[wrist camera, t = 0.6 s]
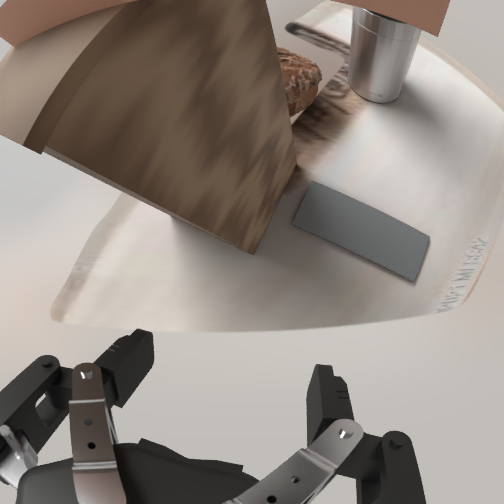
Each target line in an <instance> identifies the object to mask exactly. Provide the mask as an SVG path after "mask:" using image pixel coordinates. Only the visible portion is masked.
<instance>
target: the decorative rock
mask: <svg viewBox="0 0 504 504" xmlns="http://www.w3.org/2000/svg"><path fill="white" fill-rule="evenodd" d="M277 52H278V57H279V62H280V67H281V72H282V77H283V82H284V87H285V93H286V99H287V104H288V110H289V116H290V117H292V116H294V115H295V114H296V113H299V112H300V111H302V110H304V109H305V108H307V107H308V106H309V105H311V104H312V103H313V101H314V99H315V96H316V94H317V92H318V84H319V82H320V81H321V80H322V74H321V71H320V69H319V68H318V66H317V65H316V63H313V62H312V61H310V60H309V59H307V58H305V57H302V56H300V55H297V54H294V53H292V52H289V51H288V50H286V49H284V48H279V47H277Z"/></svg>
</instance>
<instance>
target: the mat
mask: <svg viewBox="0 0 504 504" xmlns="http://www.w3.org/2000/svg"><path fill="white" fill-rule="evenodd" d="M292 225H294V226H297V227H299V228H301V229H303V230H305V231H308V232H310V233H312V234H314V235H317V236H319V237H321V238H323V239H325V240H327V241H330V242H332V243H334V244H336V245H338V246H340V247H343V248H345V249H347V250H349V251H351V252H353V253H355V254H357V255H359V256H362V257H364V258H366V259H368V260H370V261H372V262H374V263H376V264H378V265H380V266H382V267H384V268H386V269H388V270H390V271H392V272H394V273H396V274H398V275H400V276H402V277H404V278H406V279H408V280H410V281H412V282H414V281H415V278H416V276H417V273H418V270H419V268H420V265H421V262H422V259H423V257H424V254H425V251H426V248H427V245H428V242H429V239H430V237H429V236H427V235H426V234H424V233H422V232H420V231H418V230H416V229H415V228H413V227H411V226H409V225H407V224H405V223H403V222H401V221H399V220H397V219H395V218H393V217H391V216H389V215H387V214H385V213H383V212H381V211H379V210H377V209H375V208H373V207H371V206H369V205H367V204H364V203H362V202H360V201H358V200H356V199H354V198H351V197H349V196H347V195H345V194H342V193H340V192H338V191H336V190H333V189H331V188H329V187H326V186H324V185H322V184H319V183H317V182H314V181H311V184H310V186H309V188H308V190H307V192H306V195H305V197H304V199H303V201H302V203H301V206H300V208H299V210H298V212H297V214H296V216H295V219H294V221H293V223H292Z"/></svg>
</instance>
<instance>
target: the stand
mask: <svg viewBox="0 0 504 504" xmlns="http://www.w3.org/2000/svg"><path fill="white" fill-rule="evenodd" d="M0 135H2V136H4V137H6V138H8V139H10V140H12V141H14V142H17V143H19V144H20V145H22V146H25V147H27V148H29V149H31V150H33V151H35V152H37V153H39V154H42V152H45V153H47V154H49V155H51V156H53V157H55V158H57V159H59V160H61V161H63V162H65V163H67V164H69V165H71V166H73V167H75V168H77V169H78V170H80V171H82V172H84V173H86V174H88V175H91V176H93V177H94V178H96V179H98V180H101V181H102V182H104V183H106V184H108V185H111V186H113V187H114V188H116V189H118V190H120V191H122V192H124V193H126V194H128V195H130V196H132V197H134V198H136V199H138V200H140V201H142V202H144V203H146V204H148V205H150V206H152V207H154V208H156V209H158V210H160V211H162V212H164V213H166V214H168V215H170V216H173V217H175V218H177V219H179V220H181V221H183V222H185V223H187V224H189V225H191V226H194V227H196V228H198V229H200V230H202V231H204V232H206V233H208V234H210V235H212V236H215V237H217V238H219V239H221V240H223V241H225V242H227V243H229V244H231V245H233V246H236V247H238V248H240V249H242V250H244V251H246V252H248V253H250V254H252V255H253V254H254V252H255V250H256V248H257V246H258V244H259V242H260V240H261V238H262V236H263V233H264V231H265V229H266V227H267V225H268V223H269V221H270V219H271V217H272V215H273V212H274V210H275V208H276V206H277V204H278V202H279V200H280V198H281V196H282V193H283V191H284V189H285V187H286V185H287V183H288V181H289V179H290V177H291V175H292V172H293V170H294V168H295V166H296V164H297V162H296V155H295V148H294V141H293V135H292V128H291V122H290V116H289V110H288V104H287V99H286V93H285V87H284V82H283V77H282V72H281V67H280V62H279V57H278V52H277V47H276V43H275V38H274V34H273V29H272V25H271V21H270V16H269V12H268V8H267V4H266V0H137V1H132V2H128V3H124V4H120V5H116V6H112V7H109V8H105V9H102V10H99V11H95V12H92V13H89V14H86V15H83V16H81V17H78V18H75V19H72V20H70V21H67V22H65V23H62V24H60V25H58V26H55V27H53V28H51V29H48V30H46V31H44V32H42V33H40V34H38V35H36V36H34V37H32V38H30V39H28V40H26V41H24V42H22V43H20V44H18V45H17V46H15V47H14V46H12V47H11V49H10V50H9V51H8V52H7V54H6V55H5V57H4V58H3V59H2V61H1V62H0Z"/></svg>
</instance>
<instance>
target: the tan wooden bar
mask: <svg viewBox="0 0 504 504" xmlns="http://www.w3.org/2000/svg"><path fill="white" fill-rule="evenodd" d="M132 1H137V0H7V1H6V2H5V3H4V4H3V5H2V6H1V7H0V37H2V38H3V39H4V40H6V41H7V42H9V43H10V44H11V45H12V46H14V47H15V46H17V45H18V44H20V43H22V42H24V41H26V40H28V39H30V38H32V37H34V36H36V35H38V34H40V33H42V32H44V31H46V30H48V29H51V28H53V27H55V26H58V25H60V24H62V23H65V22H67V21H70V20H72V19H75V18H78V17H81V16H83V15H86V14H89V13H92V12H95V11H99V10H102V9H105V8H109V7H112V6H116V5H120V4H124V3H128V2H132ZM331 1H336V2H340V3H344V4H349V5H352V6H356V7H360V8H363V9H367V10H370V11H373V12H376V13H380V14H383V15H386V16H388V17H391V18H394V19H397V20H399V21H402V22H405V23H407V24H409V25H412V26H414V27H417V28H419V29H421V30H424V31H426V32H428V33H430V34H432V35H434V36H437V37H438V34H439V32H440V29H441V26H442V23H443V20H444V18H445V15H446V12H447V8H448V6H449V2H450V0H331Z"/></svg>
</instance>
